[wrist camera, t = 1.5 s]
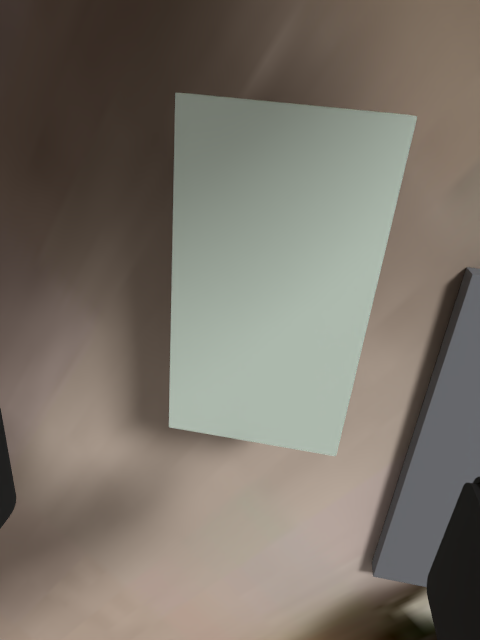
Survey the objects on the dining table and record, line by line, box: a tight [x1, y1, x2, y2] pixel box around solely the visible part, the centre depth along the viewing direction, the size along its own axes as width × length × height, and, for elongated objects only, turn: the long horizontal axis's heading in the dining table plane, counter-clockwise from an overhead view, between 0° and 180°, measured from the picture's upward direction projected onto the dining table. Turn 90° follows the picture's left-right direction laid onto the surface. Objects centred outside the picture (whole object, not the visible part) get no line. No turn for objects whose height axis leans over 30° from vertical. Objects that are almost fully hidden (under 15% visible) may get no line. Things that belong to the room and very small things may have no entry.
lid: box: [169, 93, 417, 456], centre depth 18 cm, size 13×7×3 cm, turn 175°
